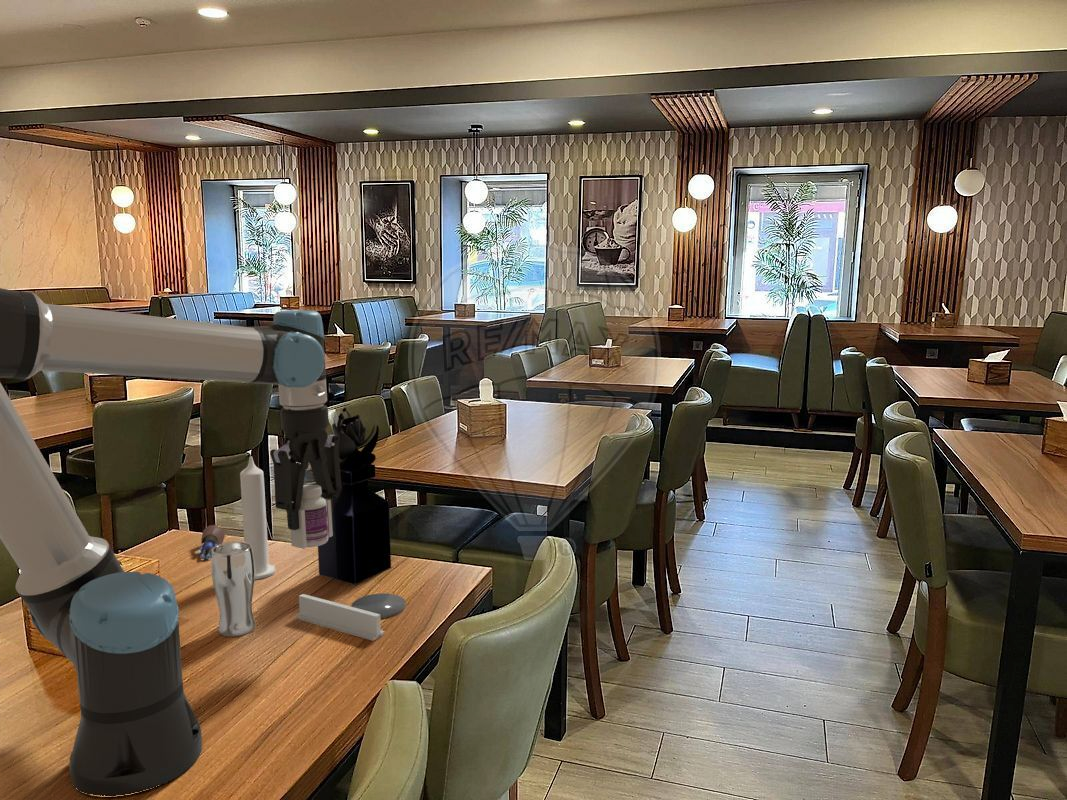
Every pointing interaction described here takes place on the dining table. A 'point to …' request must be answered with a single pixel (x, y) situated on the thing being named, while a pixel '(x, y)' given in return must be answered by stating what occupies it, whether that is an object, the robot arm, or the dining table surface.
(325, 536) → the pill bottle
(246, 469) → the candle
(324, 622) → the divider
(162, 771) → the robot arm
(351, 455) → the vase
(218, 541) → the figurine
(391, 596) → the coaster
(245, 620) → the beer glass
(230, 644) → the dining table surface
